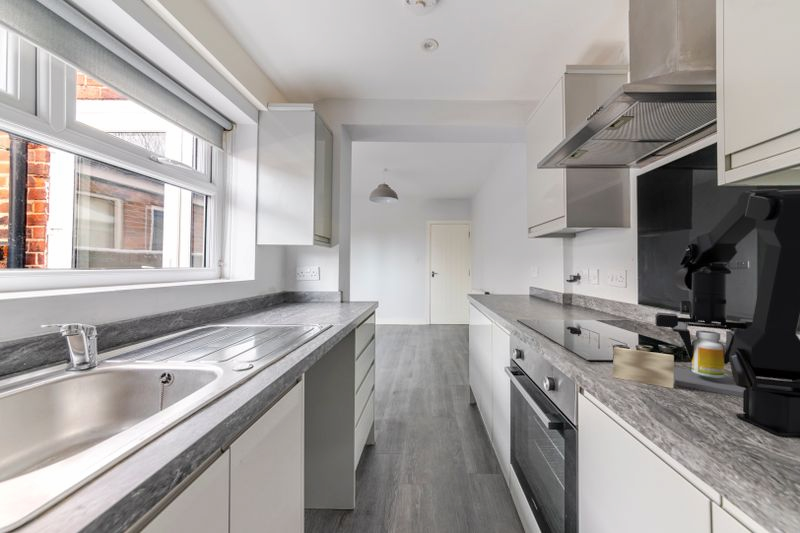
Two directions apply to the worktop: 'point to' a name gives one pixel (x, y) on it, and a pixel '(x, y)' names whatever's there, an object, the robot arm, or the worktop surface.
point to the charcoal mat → (707, 382)
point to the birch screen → (643, 366)
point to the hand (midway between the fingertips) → (707, 361)
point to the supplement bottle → (708, 355)
